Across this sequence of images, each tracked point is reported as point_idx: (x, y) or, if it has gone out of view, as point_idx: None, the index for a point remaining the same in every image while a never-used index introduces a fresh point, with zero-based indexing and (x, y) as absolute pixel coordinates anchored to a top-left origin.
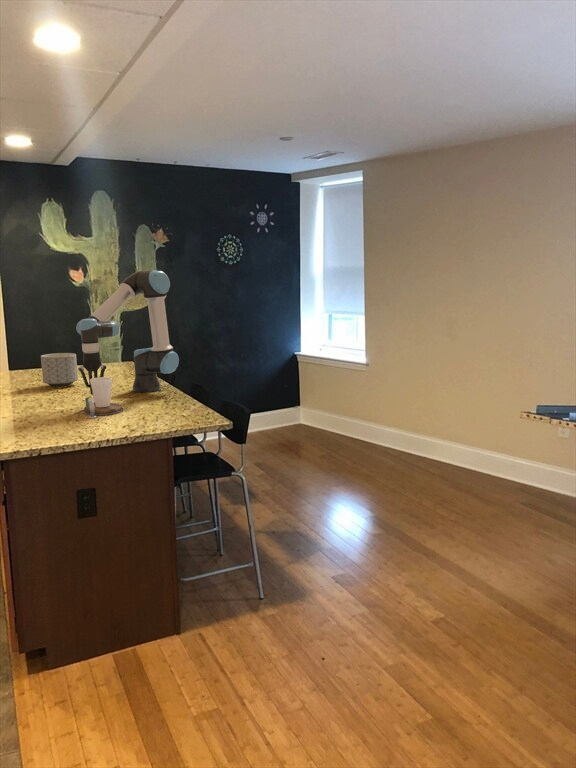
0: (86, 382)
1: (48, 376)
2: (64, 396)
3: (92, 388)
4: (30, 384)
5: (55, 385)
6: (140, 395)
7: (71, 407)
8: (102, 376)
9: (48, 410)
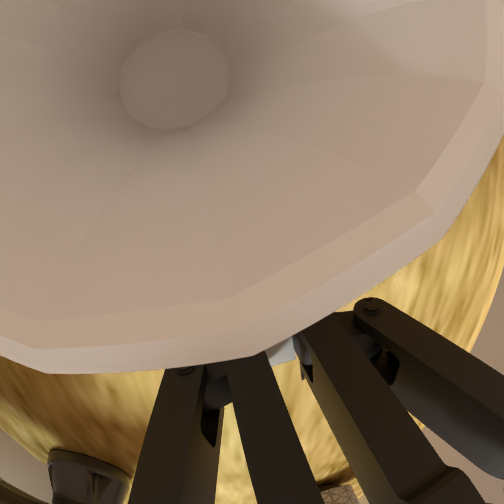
0: (415, 336)
1: (350, 497)
2: (334, 444)
3: (333, 7)
4: (356, 483)
5: (330, 486)
6: (71, 431)
7: (362, 294)
8: (150, 490)
9: (444, 251)
